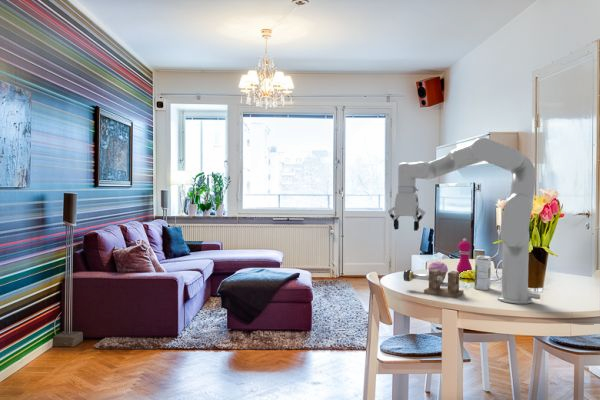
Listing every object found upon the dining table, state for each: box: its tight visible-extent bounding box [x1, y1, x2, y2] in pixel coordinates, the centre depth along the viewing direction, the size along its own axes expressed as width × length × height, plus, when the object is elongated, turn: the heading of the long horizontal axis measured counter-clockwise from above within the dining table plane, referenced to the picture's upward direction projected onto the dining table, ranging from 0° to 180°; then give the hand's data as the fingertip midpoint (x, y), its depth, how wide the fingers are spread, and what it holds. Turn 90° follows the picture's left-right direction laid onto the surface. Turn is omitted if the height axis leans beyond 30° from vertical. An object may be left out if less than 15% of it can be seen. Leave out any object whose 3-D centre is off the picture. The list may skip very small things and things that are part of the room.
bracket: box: [423, 269, 464, 299], centre depth 200 cm, size 14×9×10 cm, turn 56°
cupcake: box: [427, 261, 449, 284], centre depth 226 cm, size 9×9×10 cm
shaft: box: [403, 269, 443, 283], centre depth 205 cm, size 16×5×5 cm, turn 56°
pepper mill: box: [456, 238, 473, 274], centre depth 238 cm, size 7×7×20 cm
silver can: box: [474, 255, 492, 291], centre depth 211 cm, size 6×6×14 cm
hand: (406, 229), depth 209 cm, fingers open, 8 cm apart
